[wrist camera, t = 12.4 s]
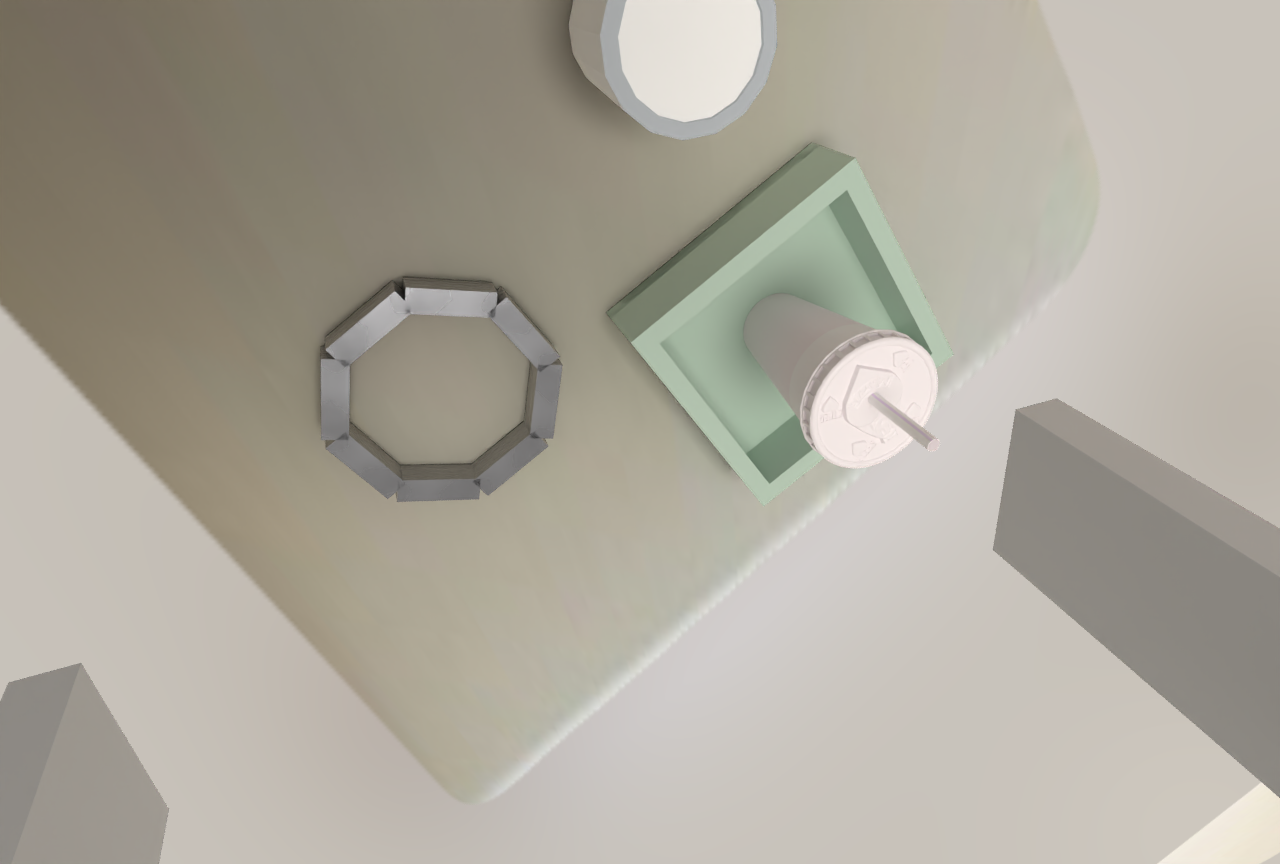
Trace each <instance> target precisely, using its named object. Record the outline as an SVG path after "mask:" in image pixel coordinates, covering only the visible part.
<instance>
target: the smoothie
mask: <svg viewBox="0 0 1280 864" xmlns="http://www.w3.org/2000/svg"><path fill="white" fill-rule="evenodd" d="M743 336H744V341H745V344H746V346H747V348H748V349H749V351H750V352H751V354H752V355H753V356H754V358H755V359H756V360H757V362H758V363H759V365H760V366H761V367H762V369H763V370H764V372H765V373H766V374H767V376H768V377H769V378H770V380H771V381H772V383H773V384H774V385H775V387H776V388H777V389H778V391H779V392H780V394H781V395H782V396H783V398H784V399H785V401H786V402H787V403H788V405H789V406H790V407H791V409H792V410H793V412H794V413H795V415H796V416H797V417H798V419H799V420H800V426H801V429H802V432H803V435H804V438H805V439H806V441H807V442H808V443H809V445H810V446H811V447H812V449H813V450H814V451H816V452H818V453H819V454H821V455H822V456H823V457H824V458H825V459H826V460H828V461H829V462H831V463H833V464H835V465H837V466H840V467H844V468H864V467H869V466H873V465H876V464H879V463H881V462H883V461H886V460H887V459H889V458H891V457H893V456H894V455H896V454H897V453H898V452H900V451H901V450H903V449H904V448H905V447H906V446H907V445H908V444H909V443H910V442H911V441H912V440H913V439H915V440H916V441H917V442H919V443H920V444H921V445H923V446H924V447H925V448H926V449H927V450H929V451H931V452H932V451H935V450H937V449H938V447H939V446H940V441H939V440H938V439H937V438H936V437H934V436H933V435H932V434H931V433H929V432H928V431H927V430H925V429H924V428H923V427H924V425H925V424H926V422H927V420H928V418H929V416H930V414H931V412H932V410H933V407H934V404H935V401H936V396H937V390H938V375H937V370H936V366H935V363H934V361H933V359H932V357H931V356H930V354H929V353H928V352H927V351H926V350H925V349H924V348H923V347H922V346H920V345H919V344H918V343H916V342H915V341H914V340H912V339H911V338H910V337H909V336H908V335H906V334H903V333H900V332H897V331H894V330H884V329H874V328H872V327H869V326H866V325H864V324H861V323H859V322H856V321H854V320H851V319H849V318H847V317H844V316H842V315H839V314H837V313H834V312H832V311H830V310H827V309H825V308H822V307H820V306H817V305H815V304H813V303H810V302H808V301H805V300H803V299H800V298H798V297H796V296H793V295H791V294H787V293H776V294H772V295H769V296H767V297H765V298H763V299H762V300H760V301H759V302H758V303H757V304H756V305H755V306H754V307H753V308H752V309H751V311H750V312H749V314H748V316H747V318H746V321H745V324H744V329H743Z"/></svg>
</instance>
